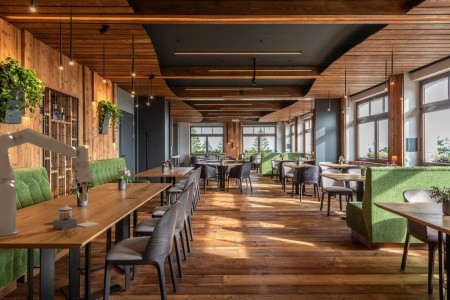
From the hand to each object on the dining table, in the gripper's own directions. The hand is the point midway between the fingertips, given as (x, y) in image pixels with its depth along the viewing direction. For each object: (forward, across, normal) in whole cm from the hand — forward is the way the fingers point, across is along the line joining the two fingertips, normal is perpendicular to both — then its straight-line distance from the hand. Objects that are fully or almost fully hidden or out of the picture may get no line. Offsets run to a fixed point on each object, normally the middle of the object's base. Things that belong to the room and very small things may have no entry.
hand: (83, 192), depth 235 cm
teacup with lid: (+22, +2, +21) cm, 30 cm away
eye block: (+22, -10, +6) cm, 25 cm away
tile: (+22, +2, -1) cm, 22 cm away
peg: (+6, 0, 0) cm, 6 cm away
